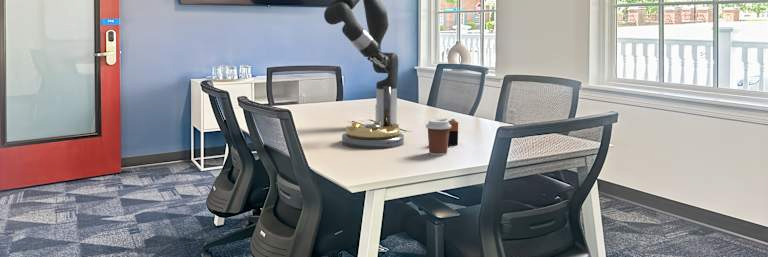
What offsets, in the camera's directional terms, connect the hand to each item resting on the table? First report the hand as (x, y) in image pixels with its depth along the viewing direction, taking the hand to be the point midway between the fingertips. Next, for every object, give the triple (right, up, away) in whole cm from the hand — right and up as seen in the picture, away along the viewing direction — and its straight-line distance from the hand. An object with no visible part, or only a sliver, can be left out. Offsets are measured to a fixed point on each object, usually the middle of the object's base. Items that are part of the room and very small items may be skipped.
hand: (390, 71), depth 261 cm
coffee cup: (+17, -33, -32) cm, 48 cm away
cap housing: (-7, -29, -12) cm, 32 cm away
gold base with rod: (-7, -26, -12) cm, 29 cm away
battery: (+22, -30, -14) cm, 40 cm away
